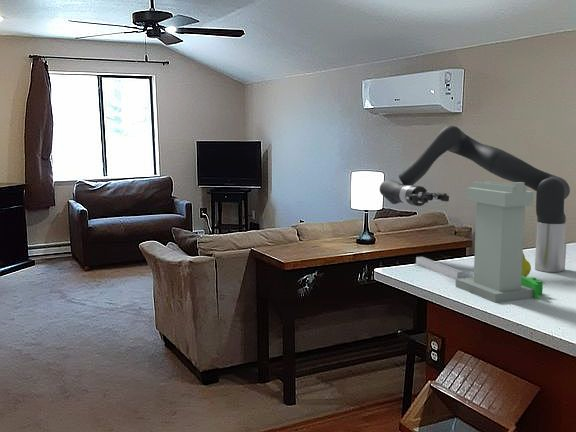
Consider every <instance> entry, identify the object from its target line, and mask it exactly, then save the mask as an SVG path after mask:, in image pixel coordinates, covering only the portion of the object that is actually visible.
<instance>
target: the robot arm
mask: <svg viewBox="0 0 576 432" xmlns="http://www.w3.org/2000/svg"><path fill="white" fill-rule="evenodd" d="M447 151H448V152H450V153H452V154H456V155H458V156H462V157H464V158H466V159H467V160H470V161H472V162H474V163H475V164H477V165H478V166H479V167H481V168H482V169H484V170H486V171H488V172H489V173H491V174H493V175H495V176H496V177H499V178H501V179H503V180H506V181H509V182H511V183H513V182H524V186H527V188H530V189H532V190H533V191H534V192H535V191H536V192H535V193H536V195H535V196H536V197H535V199H536V200H535V213H536V217H537V219H536V236H535V239H536V240H535V252H534V253H535V257H534V269H535V270H537V271H540V272H547V273H559V272H560V273H561V272H563V271H565V270H566V255H567V243H566V242H565V238H566V237H565V235H566V221H567V219H566V217H567V216H566V214H565V200H566V199H567V198H568V197H569V195H570V192H571V190H570V189H571V187H570V185H569V183H568V182H567V181H566V179H564V178H562V177H560V176H556V175H555V174H551V173H548V172H546V171H543V170H541V169H539V168H536V167H534V166H532V164H529V163H528V162H526V161H524V160H523V159H521V158H519V157H517V156H515V155H513V154H511V153H509V152H507V151H506V150H502V149H500V148H498V147H494V146H491V145H488V144H484V143H482V142H479V141H477V140H476V139H473V138H472V137H471V136H469V135H467V134H466V133H464V131H463V130H461V128H459V127H457V126H456V125H447V126H445V127H443V128H442V129H441V130H440V132H439V133H438V134H437V135H436V137H435V138H434V139H432V142H430V144H428V146H427V147H426V148H425V149H424V150H423V151H422V152H421V154H420V155H418V156H417V157H416V159H415V160H413V161H412V162H411V163H410V164H409V165H407V166H406V168H404V169H403V170H402V171H401V172H400V173H399V175H398V179H399V181H400V182H401V183H400V182H398V181H396V180H392V179H386V180H384V181H383V182H381V184H380V186H379V192H380V194H381V195H382V196H383V197H384V198H385V199H386V200H387V201H388V202H389V203H390V204H392V205H397V204H400V203H403V204H406V205H409V206H415V207H422V206H424V205H425V204H427V203H428V204H429V203H430V202H431V203H437V202H439V201H440V202H446V203H447V202H449V201H450V196H449V194H448V193H444V192H437V191H435V192H432V191H429V190H427V189H426V187H424V186H420V185H415V184H416V183H417V182H419V181H420V180H421V179H422V178H423V177H424V176H425V175H426V173H428V172H429V170H430V168H431V167H432V166H433V164H434V163H435V162H436V161H437V159H439V158H440V157H441V156H443V154H445V153H446V152H447Z"/></svg>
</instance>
